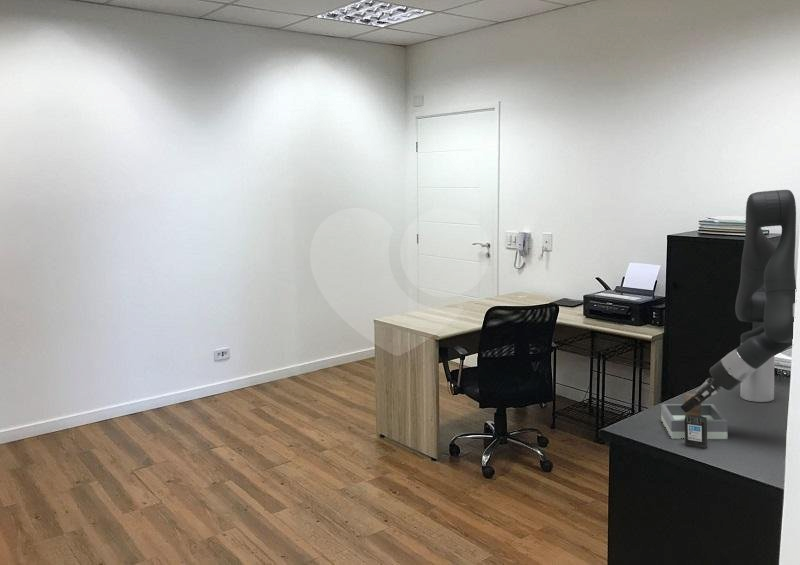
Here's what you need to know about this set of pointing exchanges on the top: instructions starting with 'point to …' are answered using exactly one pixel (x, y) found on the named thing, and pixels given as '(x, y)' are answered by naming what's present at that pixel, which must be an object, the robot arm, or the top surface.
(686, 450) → the top surface
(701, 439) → the ink cartridge
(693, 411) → the peg
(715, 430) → the socket box
